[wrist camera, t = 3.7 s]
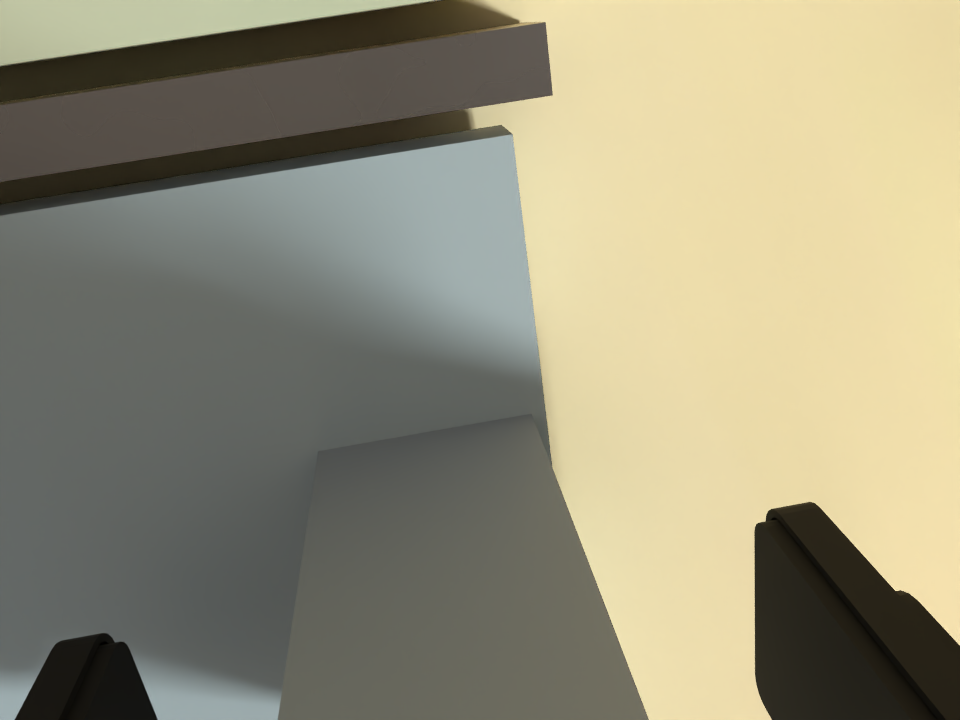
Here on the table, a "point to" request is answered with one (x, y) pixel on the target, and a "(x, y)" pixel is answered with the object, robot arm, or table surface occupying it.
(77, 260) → the pale blue tray
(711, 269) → the table surface
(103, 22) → the strip
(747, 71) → the table surface
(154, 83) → the lane rails
